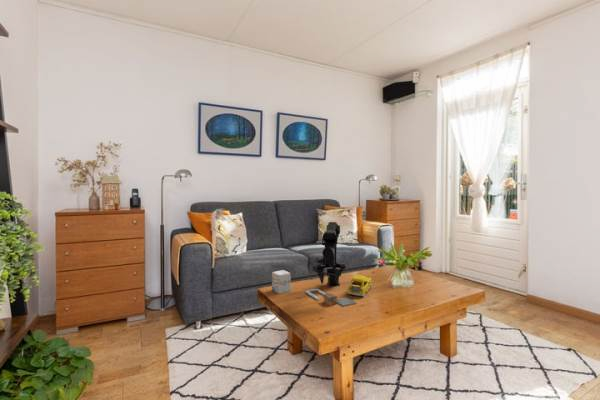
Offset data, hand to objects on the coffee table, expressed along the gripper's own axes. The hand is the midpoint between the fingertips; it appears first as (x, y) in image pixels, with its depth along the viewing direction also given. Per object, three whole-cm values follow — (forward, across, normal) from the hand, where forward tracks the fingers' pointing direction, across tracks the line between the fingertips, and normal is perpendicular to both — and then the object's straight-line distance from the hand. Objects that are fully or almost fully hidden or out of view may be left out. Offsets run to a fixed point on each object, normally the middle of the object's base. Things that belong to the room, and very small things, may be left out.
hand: (329, 282), depth 177 cm
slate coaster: (+11, -8, +4) cm, 15 cm away
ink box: (+11, +16, -29) cm, 35 cm away
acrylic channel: (+11, 0, -13) cm, 17 cm away
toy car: (+11, -28, -8) cm, 31 cm away
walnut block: (+12, 0, +1) cm, 12 cm away
